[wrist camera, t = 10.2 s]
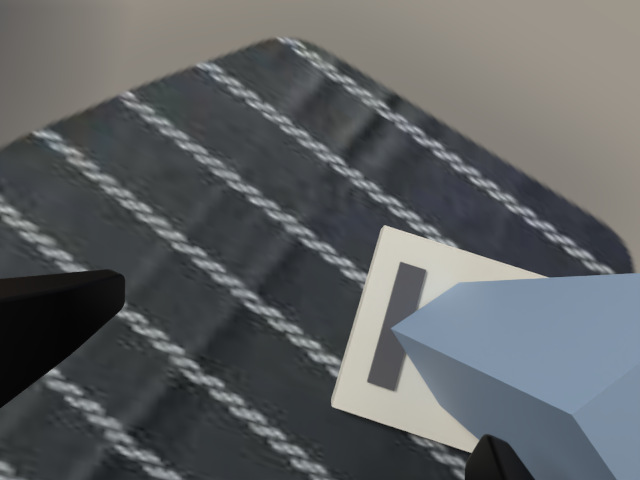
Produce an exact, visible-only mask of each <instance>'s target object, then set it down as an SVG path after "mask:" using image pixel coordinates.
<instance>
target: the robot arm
mask: <svg viewBox="0 0 640 480" xmlns="http://www.w3.org/2000/svg"><path fill="white" fill-rule="evenodd" d="M124 303H125V278H124V276H123V275H122V274H120V273H117V272H115V271H113V270H109V269H105V270H94V271H83V272H72V273H60V274H49V275H38V276H27V277H15V278H4V279H0V408H1V407H3V406H4V405H5V404H7V403H8V402H9V401H11V400H12V399H13V398H15V397H16V396H17V395H18V394H20V393H21V392H22V391H24V390H25V389H26V388H28V387H29V386H30V385H32V384H33V383H34V382H36V381H37V380H38V379H40V378H41V377H42V376H44V375H45V374H46V373H48V372H49V371H50V370H51V369H53V368H54V367H55V366H57V365H58V364H59V363H61V362H62V361H63V360H64V359H66V358H67V357H68V356H70V355H71V354H72V353H73V352H74V351H75V350H77V349H78V348H79V347H80V346H81V345H82V344H83V343H84V342H86V341H87V340H88V339H89V338H90V337H91V336H92V335H93V334H95V333H96V332H97V331H98V330H99V329H100V328H101V327H102V326H104V325H105V324H106V323H107V322H108V321H109V320H110V319H111V318H113V317H114V316H115V315H116V314H117V313H118V312H119V311H120V310H121V309H122V307H123V306H124ZM465 480H535V479H534V477H533V476H532V474H531V473H530V472H529V470H528V469H527V468H526V466H525V465H524V463H523V462H522V461H521V459H520V458H519V457H518V455H517V454H516V452H515V451H514V450H513V448H512V447H511V446H510V444H509V443H508V442H506V441H504V440H502V439H500V438H497V437H495V436H493V435H491V434H484V435H483V436H482V437H481V438H480V440H479V442H478V443H477V445H476V447H475V448H474V450H473V451H472V453H471V455H470V456H469V458H468V460H467V463H466V468H465Z"/></svg>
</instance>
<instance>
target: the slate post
mask: <svg viewBox="0 0 640 480" xmlns="http://www.w3.org/2000/svg"><path fill="white" fill-rule="evenodd" d="M391 330H392V331H393V333H394V334H395V336H396V338H397V339H398V341H399V342H400V344H401V345H402V347H403V349H404V350H405V352H406V353H407V355H408V356H409V358H410V359H411V361H412V363H413V364H414V366H415V367H416V369H417V370H418V372H419V373H420V375H421V377H422V378H423V380H424V381H425V383H426V384H427V386H428V388H429V389H430V391H431V392H432V394H433V395H434V397H435V398H436V400H437V402H438V403H439V405H440V406H441V407H442V408H443V409H445V410H446V411H447V412H448V413H449V414H450V415H451V416H452V417H454V418H455V419H456V420H457V421H458V422H459V423H460V424H461V425H463V426H464V427H465V428H466V429H467V430H468V431H469V432H470V433H472V434H473V435H474V436H475V437H476V438H477V439H478V440H480V438H481V437H482V436H483V435H484V434H491V435H493V436H495V437H497V438H500V439H502V440H504V441H506V442H508V443H509V444H510V446H511V447H512V448H513V450H514V451H515V452H516V454H517V455H518V457H519V458H520V459H521V461H522V462H523V463H524V465H525V466H526V468H527V469H528V470H529V472H530V473H531V474H532V476H533V477H534V479H535V480H640V273H634V274H615V275H595V276H576V277H556V278H537V279H517V280H498V281H478V282H459V283H458V284H456V285H455V286H453V287H452V288H450V289H449V290H447V291H446V292H444V293H443V294H441V295H440V296H438V297H437V298H435V299H434V300H432V301H431V302H429V303H428V304H426V305H425V306H423V307H422V308H420V309H419V310H417V311H416V312H414V313H413V314H411V315H410V316H408V317H407V318H405V319H404V320H402V321H401V322H399V323H398V324H396V325H395V326H394V327H392V328H391Z"/></svg>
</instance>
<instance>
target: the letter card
mask: <svg viewBox="0 0 640 480" xmlns="http://www.w3.org/2000/svg"><path fill="white" fill-rule="evenodd" d="M537 278H548V277H545V276H542V275H539V274H536V273H533V272H529V271H526V270H523V269H520V268H517V267H514V266H511V265H507V264H504V263H501V262H498V261H495V260H492V259H489V258H485V257H482V256H479V255H476V254H473V253H470V252H467V251H463V250H460V249H457V248H454V247H451V246H448V245H445V244H441V243H438V242H435V241H432V240H429V239H426V238H423V237H419V236H416V235H413V234H410V233H407V232H404V231H401V230H397V229H394V228H391V227H388V226H384V227H383V228H381V231H380V235H379V238H378V242H377V245H376V248H375V252H374V255H373V259H372V262H371V265H370V269H369V272H368V276H367V279H366V282H365V286H364V289H363V293H362V296H361V299H360V303H359V306H358V310H357V313H356V317H355V320H354V323H353V327H352V330H351V334H350V337H349V340H348V344H347V347H346V351H345V354H344V357H343V361H342V364H341V368H340V371H339V374H338V378H337V381H336V385H335V388H334V392H333V395H332V398H331V404H332V407H334V408H337V409H340V410H343V411H346V412H349V413H352V414H355V415H358V416H361V417H364V418H367V419H370V420H373V421H376V422H379V423H382V424H385V425H389V426H392V427H395V428H398V429H401V430H404V431H407V432H410V433H413V434H416V435H419V436H422V437H425V438H428V439H431V440H434V441H437V442H440V443H443V444H446V445H449V446H452V447H455V448H458V449H461V450H464V451H467V452H470V453H472V451H473V450H474V448H475V447H476V445H477V443H478V442H479V440H478V439H477V438H476V437H475V436H474V435H473V434H472V433H470V432H469V431H468V430H467V429H466V428H465V427H464V426H463V425H461V424H460V423H459V422H458V421H457V420H456V419H455V418H454V417H452V416H451V415H450V414H449V413H448V412H447V411H446V410H445V409H443V408H442V407H441V406H440V405H439V403H438V402H437V400H436V398H435V397H434V395H433V394H432V392H431V391H430V389H429V388H428V386H427V384H426V383H425V381H424V380H423V378H422V377H421V375H420V373H419V372H418V370H417V369H416V367H415V366H414V364H413V363H412V361H411V359H410V358H409V356H408V355H407V353H406V352H405V350H404V349H403V347H402V345H401V344H400V342H399V341H398V339H397V338H396V336H395V334H394V333H393V331H392V330H391V328H392V327H394V326H395V325H396V324H398V323H399V322H401V321H402V320H404V319H405V318H407V317H408V316H410V315H411V314H413V313H414V312H416V311H417V310H419V309H420V308H422V307H423V306H425V305H426V304H428V303H429V302H431V301H432V300H434V299H435V298H437V297H438V296H440V295H441V294H443V293H444V292H446V291H447V290H449V289H450V288H452V287H453V286H455V285H456V284H458V283H459V282H478V281H498V280H517V279H537Z"/></svg>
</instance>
